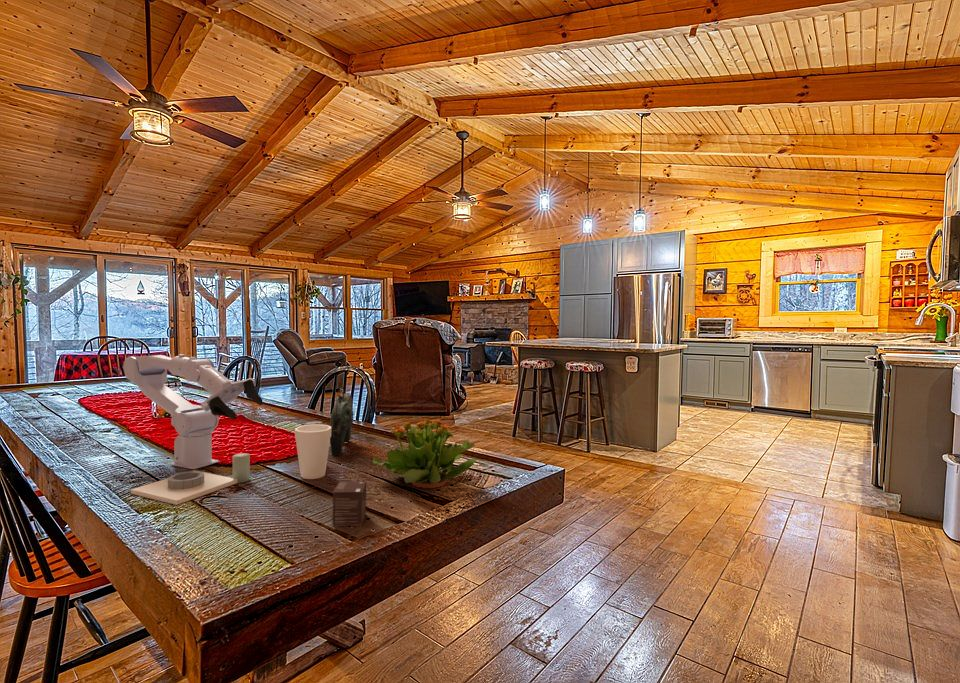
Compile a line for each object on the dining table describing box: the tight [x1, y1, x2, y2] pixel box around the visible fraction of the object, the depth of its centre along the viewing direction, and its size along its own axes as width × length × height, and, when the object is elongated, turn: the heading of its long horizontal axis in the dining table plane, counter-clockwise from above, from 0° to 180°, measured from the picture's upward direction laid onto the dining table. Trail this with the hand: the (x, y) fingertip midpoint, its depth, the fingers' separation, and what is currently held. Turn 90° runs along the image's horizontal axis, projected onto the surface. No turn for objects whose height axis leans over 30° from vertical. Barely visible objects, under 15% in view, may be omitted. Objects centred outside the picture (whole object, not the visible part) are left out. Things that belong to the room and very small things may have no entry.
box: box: [332, 481, 367, 527], centre depth 99 cm, size 6×6×7 cm
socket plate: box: [130, 469, 238, 506], centre depth 115 cm, size 16×16×3 cm
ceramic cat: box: [329, 387, 354, 456], centre depth 155 cm, size 20×6×20 cm, turn 6°
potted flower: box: [372, 418, 477, 489], centre depth 123 cm, size 25×24×18 cm
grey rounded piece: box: [232, 452, 251, 484], centre depth 122 cm, size 4×4×6 cm
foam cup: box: [294, 423, 331, 480], centre depth 127 cm, size 10×9×13 cm
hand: (248, 409), depth 124 cm, fingers open, 7 cm apart
